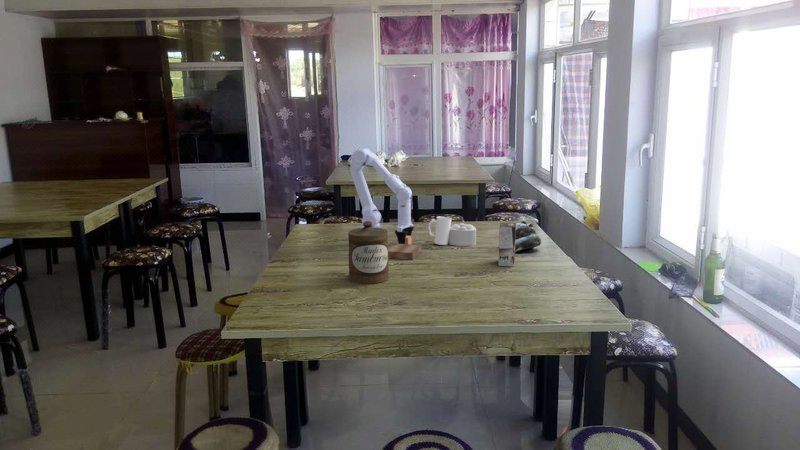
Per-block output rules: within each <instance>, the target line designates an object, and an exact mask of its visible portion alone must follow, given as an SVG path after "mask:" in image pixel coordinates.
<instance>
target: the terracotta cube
mask: <svg viewBox="0 0 800 450" xmlns="http://www.w3.org/2000/svg"><path fill="white" fill-rule="evenodd" d="M396 238H397V237H396ZM412 240H413V239H412V235H411V236H406V239H405V244H410V245H413V244H412ZM397 244H399V242H398V238H397Z"/></svg>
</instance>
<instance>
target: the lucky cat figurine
mask: <svg viewBox="0 0 800 450" xmlns="http://www.w3.org/2000/svg"><path fill="white" fill-rule="evenodd" d="M541 244H542V239H541V237H540V236H539V235H538V234H537V232H536V230H535V228H534V225H533V223H531V222H529V223H527V222H526V221H525V220H523V221H521V222H517V223H516V237H515V254H516V253H518V252H520V251H523V250H528V249H534V248H537V247H539V246H541Z"/></svg>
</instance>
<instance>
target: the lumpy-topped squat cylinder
mask: <svg viewBox="0 0 800 450" xmlns="http://www.w3.org/2000/svg"><path fill="white" fill-rule="evenodd" d="M476 244H477V229H476V226H473V224H469V223H468V224H465V223H464V222H459V223H454V224H451V227H450V233H449V239H448V245H451V246H457V247H458V246H459V247H472V246H473V247H474V246H476Z"/></svg>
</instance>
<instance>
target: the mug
mask: <svg viewBox="0 0 800 450" xmlns="http://www.w3.org/2000/svg"><path fill="white" fill-rule="evenodd" d="M452 219H453V218H451V217H448V216H440V215H439V216H436V219H435V218H431V220H430V221H429V223H428V226H427V227H428V228H427V229H428V233H429V236H430V237H433V238H434V239H433V241H434V242H433V243H434V244H436V245H440V246H448V245H449V244H448V239H449V233H450V227H451V226H452ZM433 223H434V224H435V232H432V227H431V226H432V224H433Z"/></svg>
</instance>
